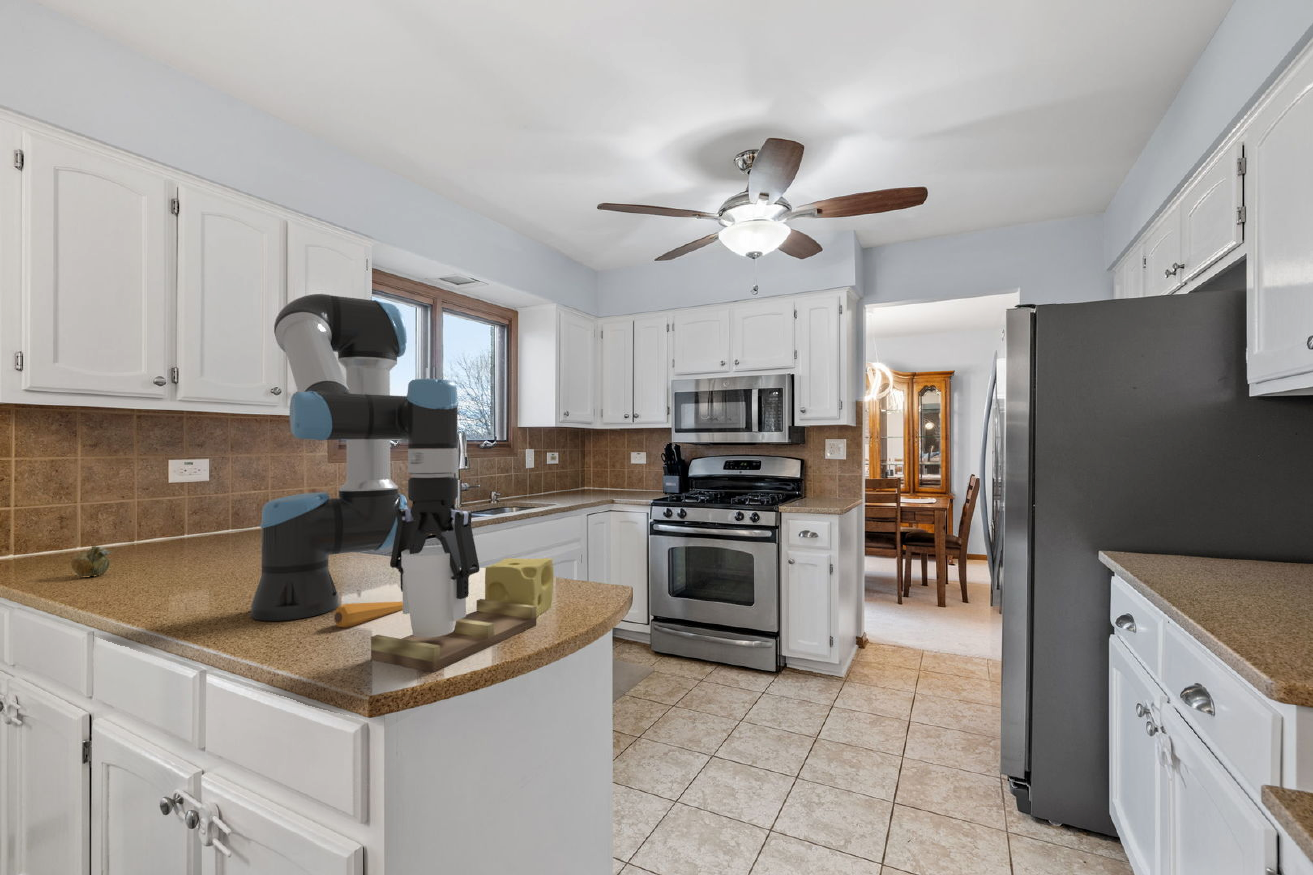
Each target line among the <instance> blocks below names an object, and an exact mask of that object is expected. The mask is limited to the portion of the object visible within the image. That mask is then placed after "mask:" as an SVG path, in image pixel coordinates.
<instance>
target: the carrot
mask: <svg viewBox="0 0 1313 875" xmlns="http://www.w3.org/2000/svg"><path fill="white" fill-rule="evenodd" d="M400 610H401V611H403V601H386V602H385V601H384V602H383V601H382V602H377V601H376V602H355V603H354V602H353V603H344V604H342V605H338V607H337V608H336V609H335V611H334V616H333V621H334V623H335V625H336V627H339V628H347V629H349V628H352V627H355V626H358V625H361V624H364V623H367V622H370V621H373V620H377V619H380V618H381V617H385V616H388V615H392V614H394V613H393V612H395V613H397V611H398V612H400Z"/></svg>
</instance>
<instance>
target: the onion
mask: <svg viewBox="0 0 1313 875" xmlns="http://www.w3.org/2000/svg"><path fill="white" fill-rule="evenodd" d="M109 554H111V550H107V549H106V548H104V547H102V546H97V545H93V546H91V548H90V549H89V550H86V551H82V552H81V553H78V554H77V555H75V556H74V557H73V559H72V561H71V569H72V571H73V572H74V573H75V574H77V575H78V576H79V577H81V576H94V575H99V574H102V575H104V574H105V573H106V572H108V570H109V569H110V564H111V562H110V559H109V557H106V556H108V555H109Z"/></svg>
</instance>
